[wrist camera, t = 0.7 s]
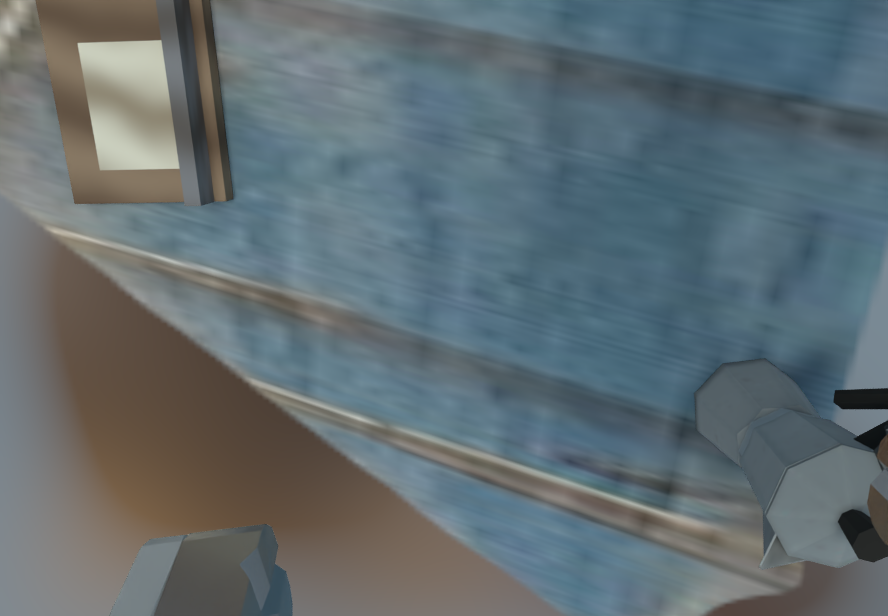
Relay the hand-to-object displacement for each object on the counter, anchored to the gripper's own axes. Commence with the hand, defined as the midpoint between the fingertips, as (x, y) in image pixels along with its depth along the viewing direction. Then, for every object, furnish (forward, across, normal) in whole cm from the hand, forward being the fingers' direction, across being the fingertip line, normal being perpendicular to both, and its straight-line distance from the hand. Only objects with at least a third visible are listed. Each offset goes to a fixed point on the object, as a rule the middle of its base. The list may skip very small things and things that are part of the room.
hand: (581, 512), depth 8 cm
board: (+46, +20, -8) cm, 51 cm away
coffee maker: (+36, -24, +26) cm, 50 cm away
